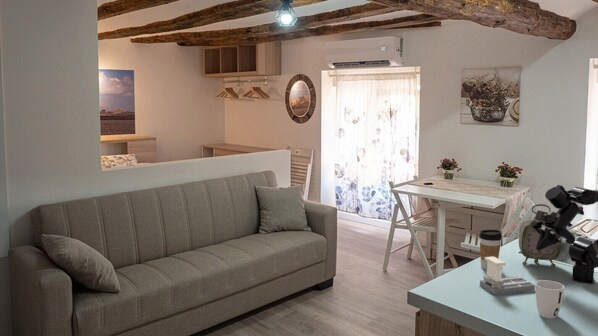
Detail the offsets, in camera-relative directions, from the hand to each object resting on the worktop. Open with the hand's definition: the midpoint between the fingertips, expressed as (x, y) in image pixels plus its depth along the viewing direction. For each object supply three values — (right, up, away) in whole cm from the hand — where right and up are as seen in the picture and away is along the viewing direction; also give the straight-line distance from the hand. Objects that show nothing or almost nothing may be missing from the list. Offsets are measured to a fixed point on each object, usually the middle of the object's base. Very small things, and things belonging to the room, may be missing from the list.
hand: (537, 249), depth 187 cm
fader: (-17, -11, -2) cm, 20 cm away
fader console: (-11, -14, -1) cm, 18 cm away
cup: (-7, -17, -23) cm, 29 cm away
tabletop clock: (+11, -10, +24) cm, 28 cm away
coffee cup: (-10, -11, +20) cm, 25 cm away
